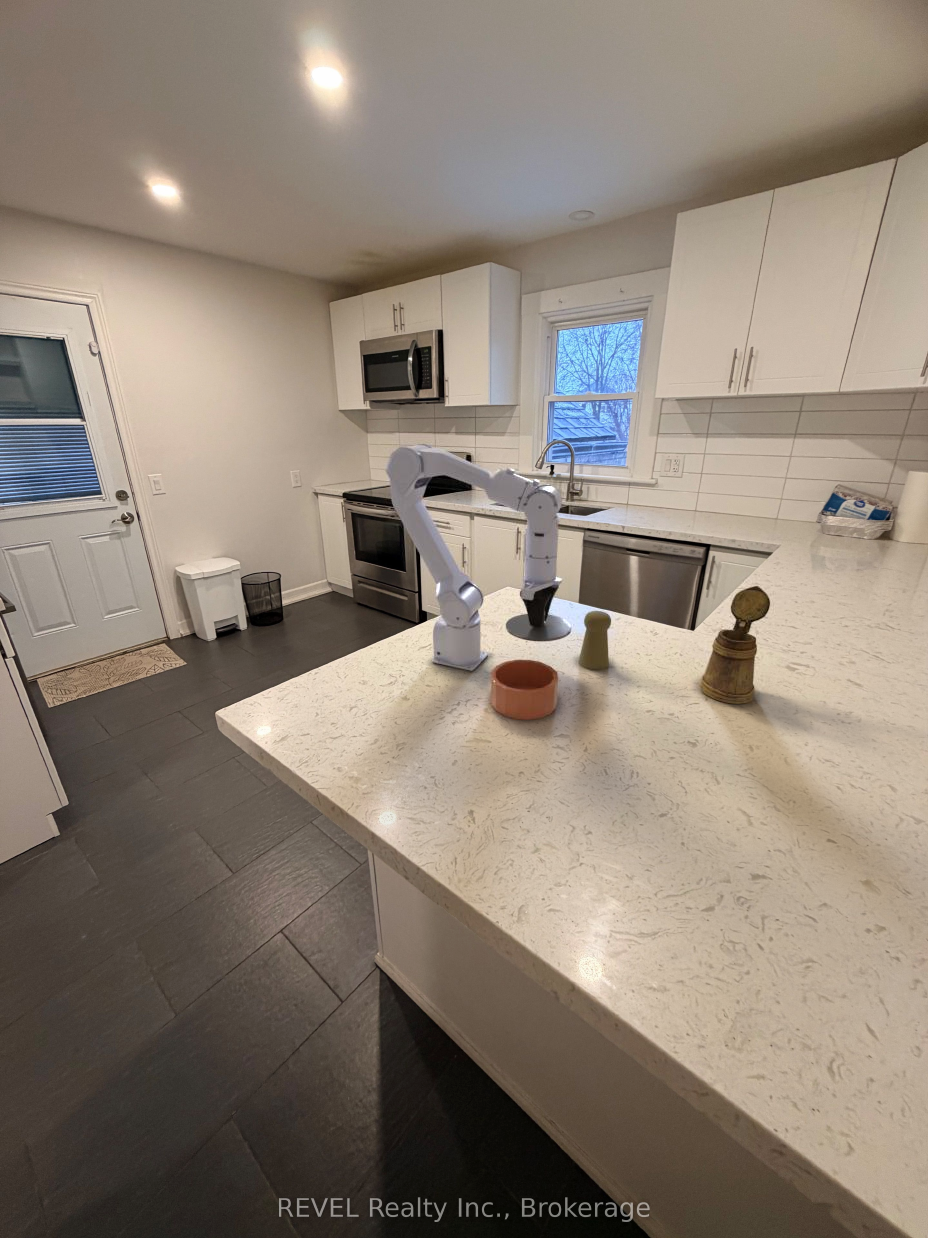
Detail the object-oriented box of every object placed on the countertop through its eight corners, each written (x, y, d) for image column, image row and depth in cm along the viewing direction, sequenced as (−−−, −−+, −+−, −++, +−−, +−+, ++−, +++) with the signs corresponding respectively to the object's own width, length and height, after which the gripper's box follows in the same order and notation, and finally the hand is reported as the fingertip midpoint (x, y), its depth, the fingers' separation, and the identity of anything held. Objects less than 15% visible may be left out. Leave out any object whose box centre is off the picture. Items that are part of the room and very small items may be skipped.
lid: (495, 637, 93) (495, 615, 92) (519, 614, 104) (519, 594, 102) (560, 649, 88) (561, 626, 86) (578, 624, 98) (580, 603, 97)
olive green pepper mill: (609, 670, 98) (615, 619, 94) (578, 668, 100) (582, 617, 95) (607, 657, 104) (613, 608, 100) (578, 654, 105) (582, 606, 101)
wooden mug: (764, 679, 94) (786, 590, 87) (746, 710, 85) (769, 612, 78) (714, 665, 100) (731, 580, 93) (692, 693, 90) (709, 600, 83)
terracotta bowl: (480, 710, 86) (480, 683, 84) (505, 679, 96) (506, 655, 94) (544, 726, 81) (546, 698, 79) (564, 693, 91) (565, 667, 89)
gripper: (550, 567, 82) (546, 641, 88) (573, 547, 94) (568, 613, 100) (510, 562, 85) (509, 634, 91) (537, 543, 97) (535, 608, 103)
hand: (538, 623), depth 95 cm, fingers closed on lid, 2 cm apart
